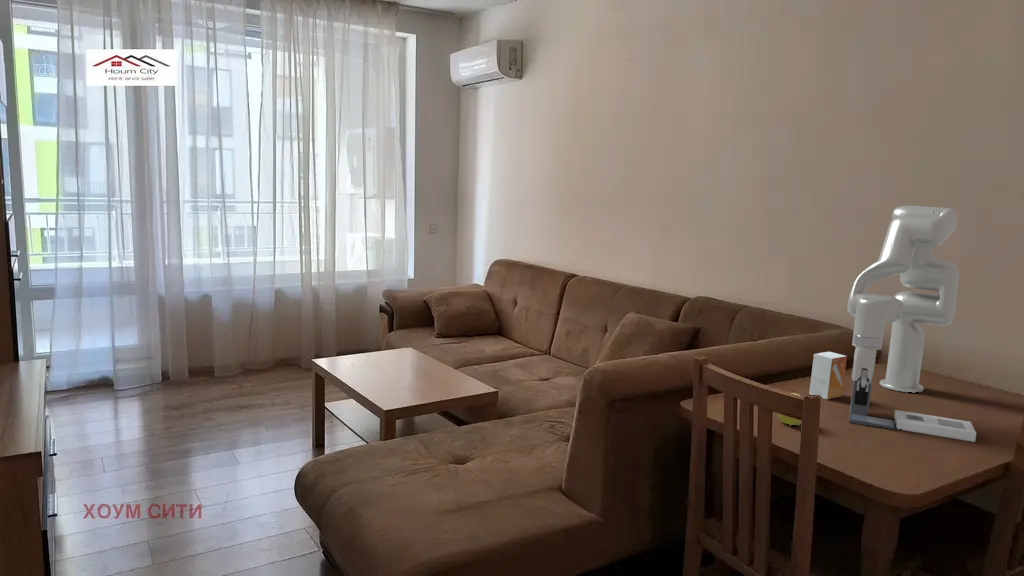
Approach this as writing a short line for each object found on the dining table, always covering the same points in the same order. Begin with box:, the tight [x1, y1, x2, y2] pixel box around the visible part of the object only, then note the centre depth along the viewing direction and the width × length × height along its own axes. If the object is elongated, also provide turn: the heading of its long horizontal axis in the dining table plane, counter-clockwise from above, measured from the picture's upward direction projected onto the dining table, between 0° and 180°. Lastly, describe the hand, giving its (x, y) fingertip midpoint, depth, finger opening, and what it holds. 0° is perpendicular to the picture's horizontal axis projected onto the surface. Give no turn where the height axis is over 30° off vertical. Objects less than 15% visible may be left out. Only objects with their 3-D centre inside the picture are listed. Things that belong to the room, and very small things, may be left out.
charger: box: [849, 380, 873, 416], centre depth 199 cm, size 4×4×10 cm
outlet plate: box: [893, 409, 977, 443], centre depth 188 cm, size 10×18×3 cm, turn 64°
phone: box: [848, 412, 896, 431], centre depth 192 cm, size 6×11×1 cm, turn 65°
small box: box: [809, 351, 848, 400], centre depth 215 cm, size 8×6×13 cm
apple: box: [777, 390, 802, 427], centre depth 188 cm, size 8×8×10 cm
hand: (860, 400), depth 199 cm, fingers open, 9 cm apart
